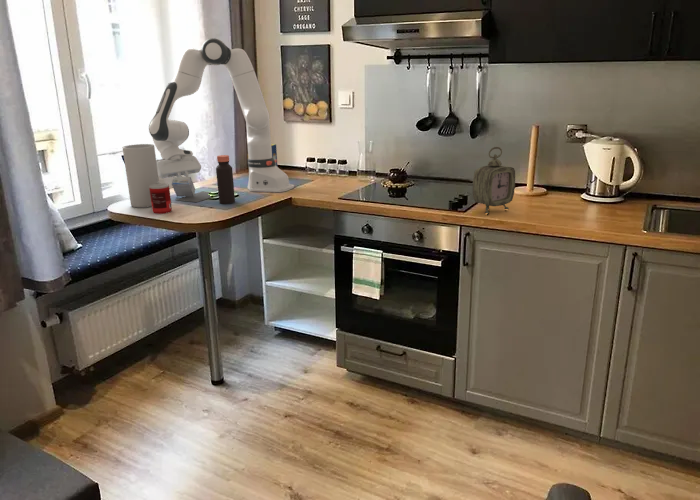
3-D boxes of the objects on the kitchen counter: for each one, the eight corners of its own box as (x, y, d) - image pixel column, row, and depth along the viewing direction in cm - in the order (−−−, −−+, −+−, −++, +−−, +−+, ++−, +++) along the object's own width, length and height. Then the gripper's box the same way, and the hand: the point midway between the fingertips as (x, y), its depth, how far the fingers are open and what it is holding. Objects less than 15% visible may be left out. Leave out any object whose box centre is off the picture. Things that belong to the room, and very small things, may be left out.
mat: (222, 193, 262) (222, 193, 262) (196, 202, 247) (196, 201, 246) (202, 191, 267) (202, 191, 267) (175, 200, 252) (175, 199, 252)
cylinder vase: (145, 209, 237) (137, 148, 229) (124, 206, 243) (115, 147, 235) (167, 202, 247) (160, 144, 239) (147, 200, 253) (139, 143, 245)
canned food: (167, 208, 238) (163, 182, 234) (175, 211, 232) (172, 185, 228) (149, 211, 233) (145, 185, 229) (157, 215, 227) (153, 188, 224)
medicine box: (195, 189, 259) (190, 176, 252) (194, 196, 256) (189, 183, 249) (178, 189, 259) (173, 176, 252) (176, 197, 256) (171, 184, 249)
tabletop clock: (486, 217, 213) (490, 150, 205) (469, 212, 220) (472, 147, 212) (513, 211, 220) (517, 146, 212) (495, 206, 227) (499, 143, 220)
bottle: (216, 202, 246) (212, 155, 240) (230, 199, 250) (226, 154, 244) (223, 205, 241) (218, 157, 235) (238, 202, 245) (233, 155, 239)
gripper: (153, 156, 251) (166, 180, 248) (194, 150, 265) (207, 173, 261) (149, 165, 256) (162, 189, 252) (191, 159, 269) (203, 182, 265)
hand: (186, 181), depth 257 cm, fingers closed
